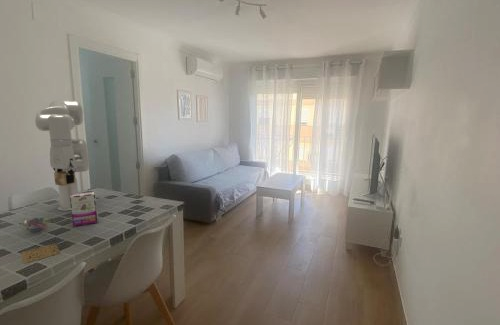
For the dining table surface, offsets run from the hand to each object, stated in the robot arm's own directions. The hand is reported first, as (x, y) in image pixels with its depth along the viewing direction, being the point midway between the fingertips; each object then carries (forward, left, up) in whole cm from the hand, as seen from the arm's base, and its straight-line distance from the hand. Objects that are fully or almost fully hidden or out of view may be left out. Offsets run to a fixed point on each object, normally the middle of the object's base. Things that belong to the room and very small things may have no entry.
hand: (65, 182), depth 117 cm
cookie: (+2, -15, -28) cm, 31 cm away
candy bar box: (-8, +14, -27) cm, 31 cm away
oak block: (0, 0, -1) cm, 1 cm away
